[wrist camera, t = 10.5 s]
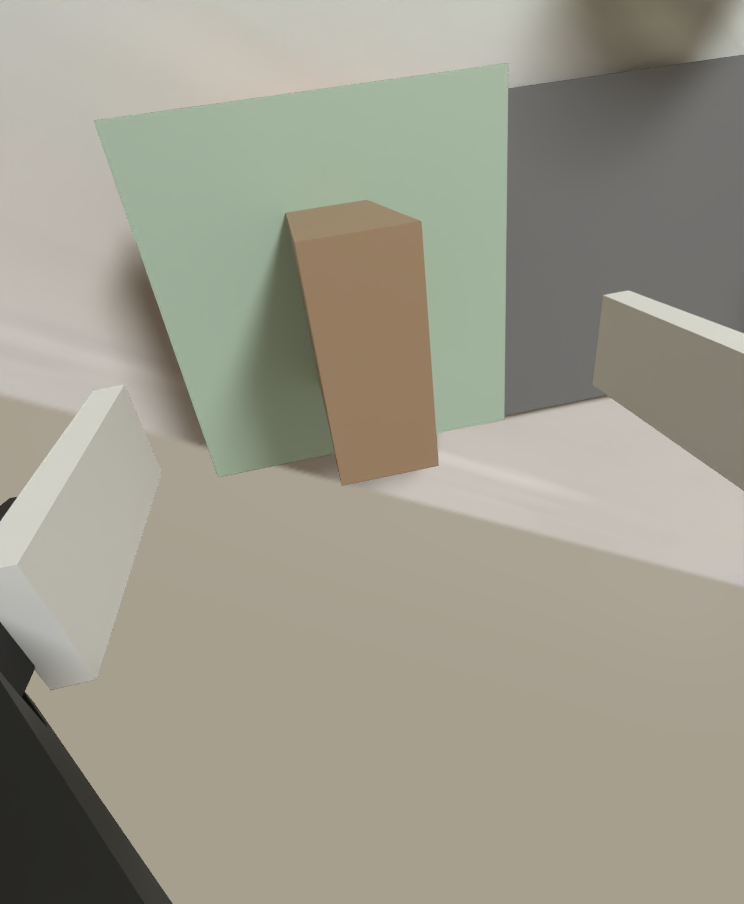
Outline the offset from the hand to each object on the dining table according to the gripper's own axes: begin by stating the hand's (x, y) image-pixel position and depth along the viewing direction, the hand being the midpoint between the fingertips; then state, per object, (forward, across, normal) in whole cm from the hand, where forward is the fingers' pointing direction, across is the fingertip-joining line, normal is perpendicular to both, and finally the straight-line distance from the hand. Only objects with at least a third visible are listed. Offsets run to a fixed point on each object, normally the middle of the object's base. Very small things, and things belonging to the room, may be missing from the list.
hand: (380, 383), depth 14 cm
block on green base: (+12, 0, 0) cm, 12 cm away
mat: (+18, +19, -2) cm, 26 cm away
